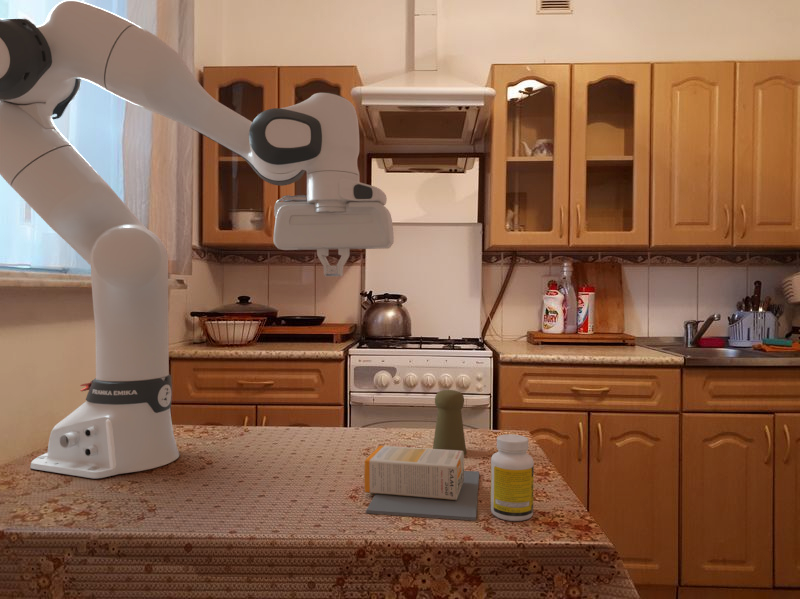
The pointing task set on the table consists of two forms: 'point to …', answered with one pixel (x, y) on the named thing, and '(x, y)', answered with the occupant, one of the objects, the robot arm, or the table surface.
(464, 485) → the mat
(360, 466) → the table surface
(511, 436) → the supplement bottle
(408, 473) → the supplement box
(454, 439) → the green pepper mill
